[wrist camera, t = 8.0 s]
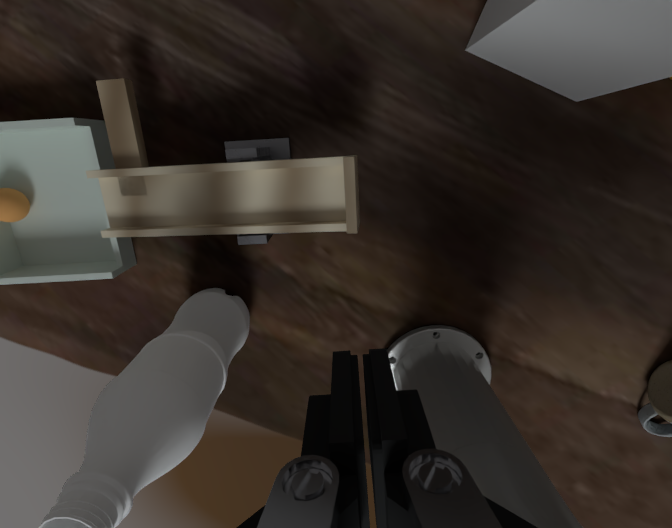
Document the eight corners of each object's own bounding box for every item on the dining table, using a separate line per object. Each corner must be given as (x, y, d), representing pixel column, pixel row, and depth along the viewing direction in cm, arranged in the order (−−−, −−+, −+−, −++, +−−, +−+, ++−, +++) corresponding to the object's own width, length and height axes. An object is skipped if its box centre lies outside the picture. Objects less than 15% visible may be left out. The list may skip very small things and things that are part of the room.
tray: (136, 263, 40) (112, 278, 36) (23, 270, 40) (-15, 285, 36) (104, 120, 36) (73, 117, 31) (-23, 128, 36) (-71, 126, 31)
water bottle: (251, 345, 43) (146, 601, 19) (187, 336, 42) (-3, 585, 19) (257, 286, 41) (148, 490, 17) (190, 276, 40) (-21, 470, 16)
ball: (42, 218, 37) (9, 225, 34) (17, 218, 38) (-18, 225, 35) (33, 185, 36) (-3, 189, 34) (7, 186, 37) (-30, 190, 34)
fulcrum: (289, 137, 36) (278, 136, 29) (297, 231, 39) (289, 250, 32) (226, 141, 36) (200, 141, 29) (238, 234, 39) (218, 254, 32)
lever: (353, 60, 28) (349, 51, 25) (359, 226, 32) (357, 234, 29) (84, 84, 31) (54, 79, 28) (119, 233, 35) (95, 241, 32)
